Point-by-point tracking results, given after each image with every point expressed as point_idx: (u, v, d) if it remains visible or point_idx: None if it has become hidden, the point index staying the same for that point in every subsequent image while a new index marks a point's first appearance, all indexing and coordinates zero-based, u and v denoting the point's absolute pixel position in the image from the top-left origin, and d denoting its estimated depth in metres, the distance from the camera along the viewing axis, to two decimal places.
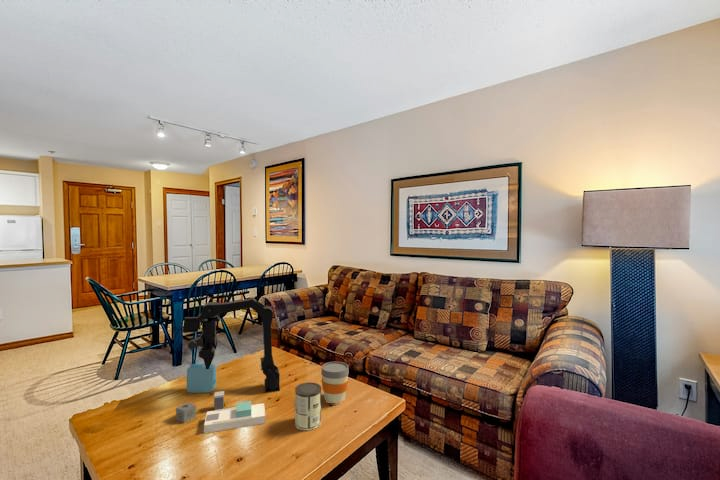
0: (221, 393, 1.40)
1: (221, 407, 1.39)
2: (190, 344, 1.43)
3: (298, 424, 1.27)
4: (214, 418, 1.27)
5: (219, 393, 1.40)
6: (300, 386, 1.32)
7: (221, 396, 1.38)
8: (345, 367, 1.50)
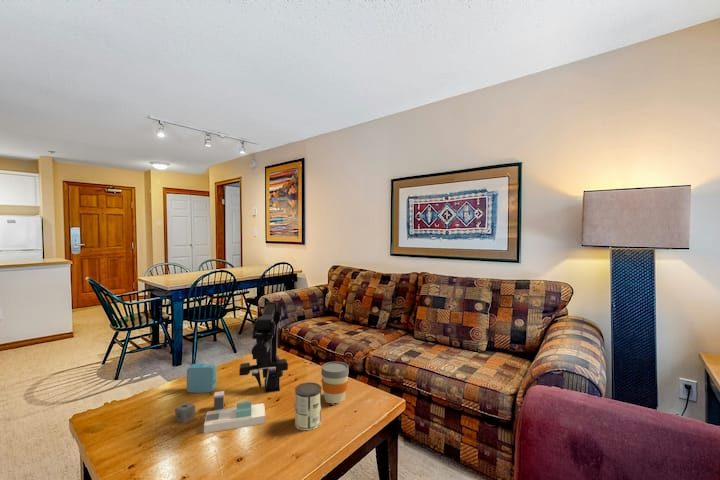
0: (221, 393, 1.40)
1: (221, 407, 1.39)
2: None
3: (298, 424, 1.27)
4: (214, 418, 1.27)
5: (219, 393, 1.40)
6: (300, 386, 1.32)
7: (221, 396, 1.38)
8: (345, 367, 1.50)
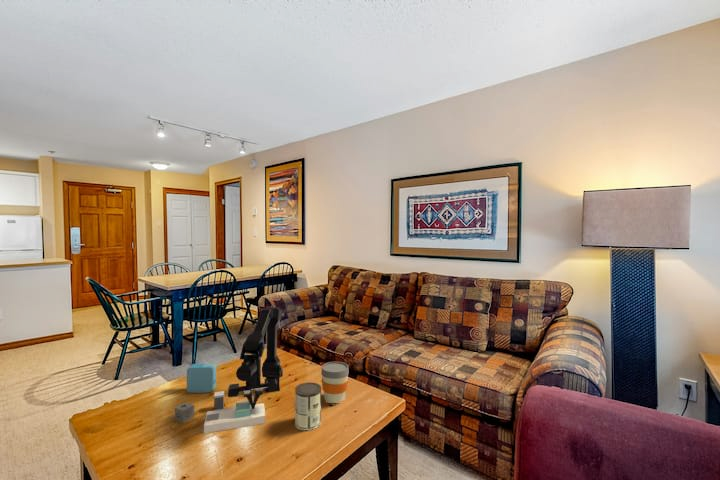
0: (221, 393, 1.40)
1: (221, 407, 1.39)
2: None
3: (298, 424, 1.27)
4: (214, 418, 1.27)
5: (219, 393, 1.40)
6: (300, 386, 1.32)
7: (221, 396, 1.38)
8: (345, 367, 1.50)
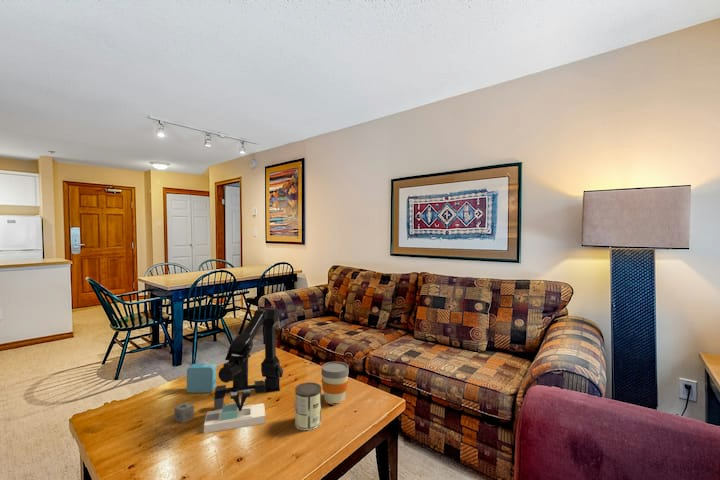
0: None
1: (221, 407, 1.39)
2: None
3: (298, 424, 1.27)
4: (214, 418, 1.27)
5: None
6: (300, 386, 1.32)
7: None
8: (345, 367, 1.50)
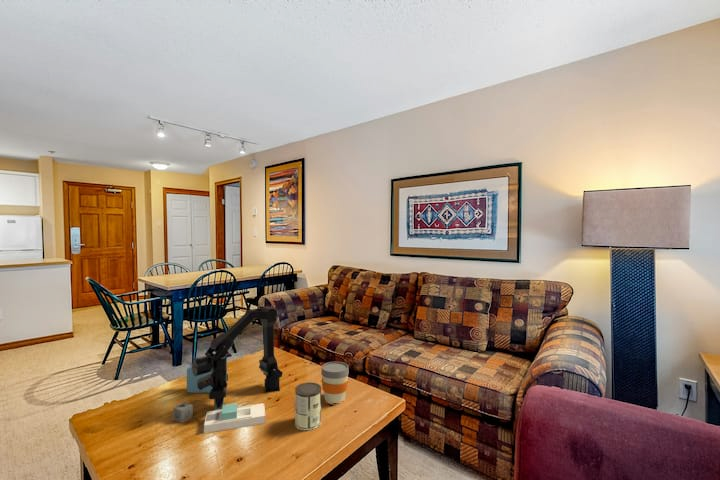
0: None
1: (221, 407, 1.39)
2: (200, 384, 1.33)
3: (298, 424, 1.27)
4: (214, 418, 1.27)
5: None
6: (300, 386, 1.32)
7: None
8: (345, 367, 1.50)
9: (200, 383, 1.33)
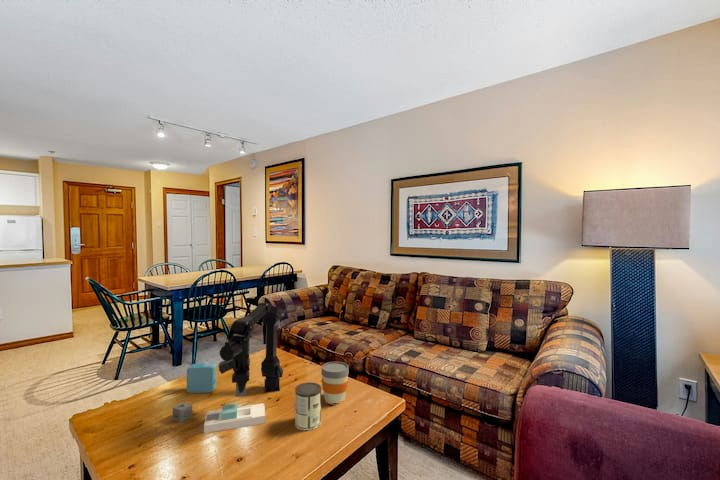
0: None
1: (243, 392, 1.31)
2: (222, 367, 1.26)
3: (298, 424, 1.27)
4: (214, 418, 1.27)
5: None
6: (300, 386, 1.32)
7: None
8: (345, 367, 1.50)
9: (222, 366, 1.26)
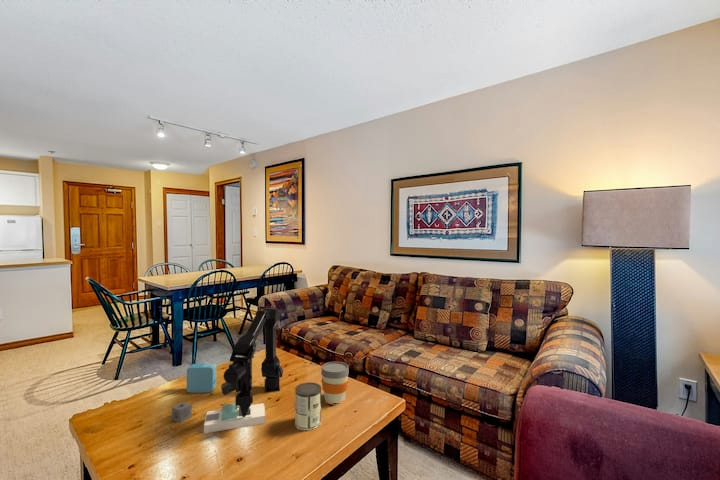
0: None
1: None
2: (225, 390, 1.25)
3: (298, 424, 1.27)
4: (214, 418, 1.27)
5: None
6: (300, 386, 1.32)
7: None
8: (345, 367, 1.50)
9: (225, 388, 1.25)
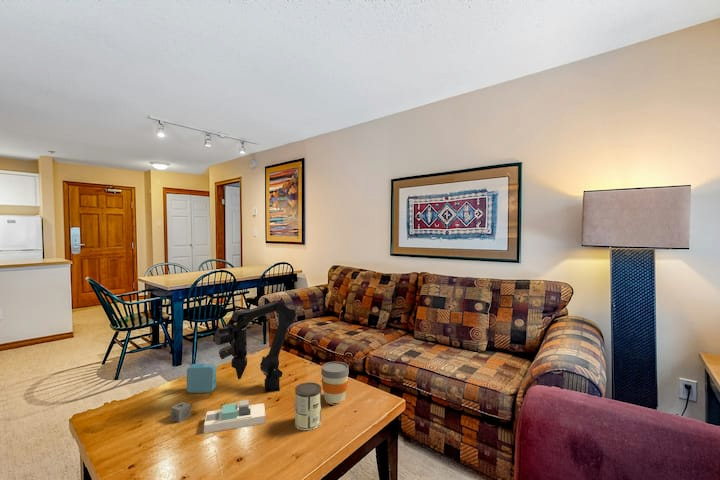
0: (246, 402, 1.32)
1: None
2: (222, 353, 1.40)
3: (298, 424, 1.27)
4: (214, 418, 1.27)
5: (244, 402, 1.32)
6: (300, 386, 1.32)
7: (246, 405, 1.30)
8: (345, 367, 1.50)
9: (222, 352, 1.40)
